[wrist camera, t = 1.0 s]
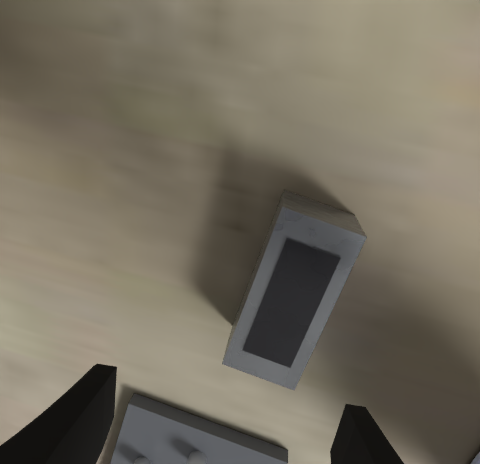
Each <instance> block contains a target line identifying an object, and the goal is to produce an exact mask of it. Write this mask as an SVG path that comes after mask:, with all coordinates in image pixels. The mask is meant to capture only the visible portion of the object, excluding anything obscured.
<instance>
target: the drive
mask: <svg viewBox="0 0 480 464" xmlns="http://www.w3.org/2000/svg"><path fill="white" fill-rule="evenodd" d="M366 238H367V237H366V235H365V233H364V231H363V229H362V228H361V226H360V224H359V222H358V220H357V218H356V217H355V215H354V214H351V213H348V212H345V211H343V210H340V209H337V208H334V207H331V206H329V205H326V204H323V203H320V202H317V201H315V200H312V199H309V198H306V197H303V196H301V195H298V194H295V193H292V192H290V191H287V190H284V192H283V194H282V197H281V199H280V202H279V205H278V207H277V210H276V213H275V215H274V218H273V220H272V223H271V226H270V228H269V231H268V234H267V236H266V239H265V241H264V244H263V247H262V249H261V252H260V255H259V257H258V260H257V263H256V265H255V268H254V270H253V273H252V276H251V278H250V281H249V284H248V286H247V289H246V291H245V294H244V297H243V299H242V302H241V305H240V307H239V310H238V313H237V315H236V318H235V320H234V323H233V326H232V329H231V333H230V337H229V340H228V344H227V348H226V351H225V355H224V359H223V362H222V364H224V365H226V366H229V367H232V368H235V369H237V370H240V371H243V372H245V373H248V374H251V375H254V376H256V377H259V378H262V379H265V380H267V381H270V382H273V383H276V384H278V385H281V386H284V387H286V388H289V389H292V390H295V388H296V386H297V384H298V381H299V379H300V377H301V375H302V373H303V371H304V369H305V367H306V365H307V362H308V360H309V358H310V356H311V354H312V352H313V350H314V348H315V345H316V343H317V341H318V339H319V337H320V335H321V333H322V331H323V329H324V326H325V324H326V322H327V320H328V318H329V316H330V314H331V312H332V310H333V307H334V305H335V303H336V301H337V299H338V297H339V295H340V293H341V291H342V288H343V286H344V284H345V282H346V280H347V278H348V276H349V274H350V271H351V269H352V267H353V265H354V263H355V261H356V259H357V257H358V255H359V252H360V250H361V248H362V246H363V244H364V242H365V240H366Z"/></svg>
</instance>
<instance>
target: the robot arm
mask: <svg viewBox="0 0 480 464" xmlns="http://www.w3.org/2000/svg"><path fill="white" fill-rule="evenodd" d="M116 371H117V367H114V366H108V365H102V364H96V365H95V366H93V367H92V368H91V369H90V370H89V371H88V372H87V373H86V374H85V375H84V376H83V377H82V378H81V379H80V380H79V381H78V382H77V383H76V384H74V385H73V386H72V387H71V388H70V389H69V390H68V391H67V392H66V393H65V394H64V395H62V396H61V397H60V398H59V399H58V400H57V401H56V402H54V403H53V404H52V405H51V406H50V407H49V408H48V409H46V410H45V411H44V412H43V413H42V414H41V415H39V416H38V417H37V418H36V419H34V420H33V421H32V422H31V423H29V424H28V425H27V426H26V427H24V428H23V429H22V430H21V431H19V432H18V433H17V434H15V435H14V436H13V437H12V438H10V439H9V440H7V441H6V442H5V443H3V444H2V445H1V446H0V464H96V462H97V460H98V458H99V456H100V454H101V452H102V449H103V446H104V444H105V441H106V438H107V436H108V433H109V430H110V427H111V424H112V421H113V418H114V409H115V390H116ZM330 454H331V464H404V463H403V461H402V460H401V459H400V457H399V456H398V454H397V453H396V452H395V450H394V449H393V447H392V446H391V444H390V443H389V441H388V440H387V438H386V437H385V435H384V434H383V432H382V431H381V430H380V428H379V427H378V425H377V424H376V422H375V421H374V419H373V418H372V416H371V415H370V413H369V412H368V410H367V409H366V407H362V406H355V405H349V404H346V405H345V408H344V411H343V414H342V418H341V421H340V424H339V427H338V430H337V433H336V436H335V439H334V442H333V445H332V448H331V451H330ZM471 464H480V452H479V453H478V454H477V456H476V457H475V458H474V460H473V461H472V463H471Z"/></svg>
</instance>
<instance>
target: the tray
mask: <svg viewBox="0 0 480 464" xmlns="http://www.w3.org/2000/svg"><path fill="white" fill-rule="evenodd" d="M110 464H288V450H286V449H283V448H281V447H278V446H275V445H273V444H270V443H267V442H264V441H262V440H259V439H256V438H254V437H251V436H248V435H246V434H243V433H240V432H238V431H235V430H232V429H230V428H227V427H224V426H221V425H219V424H216V423H213V422H211V421H208V420H205V419H203V418H200V417H197V416H195V415H192V414H189V413H187V412H184V411H181V410H179V409H176V408H173V407H170V406H168V405H165V404H162V403H160V402H157V401H154V400H152V399H149V398H146V397H144V396H141V395H138V394H136V393H134V395H133V396H132V398H131V400H130V402H129V404H128V407H127V410H126V414H125V417H124V420H123V423H122V427H121V430H120V433H119V437H118V440H117V443H116V446H115V450H114V453H113V456H112V459H111V463H110Z"/></svg>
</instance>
